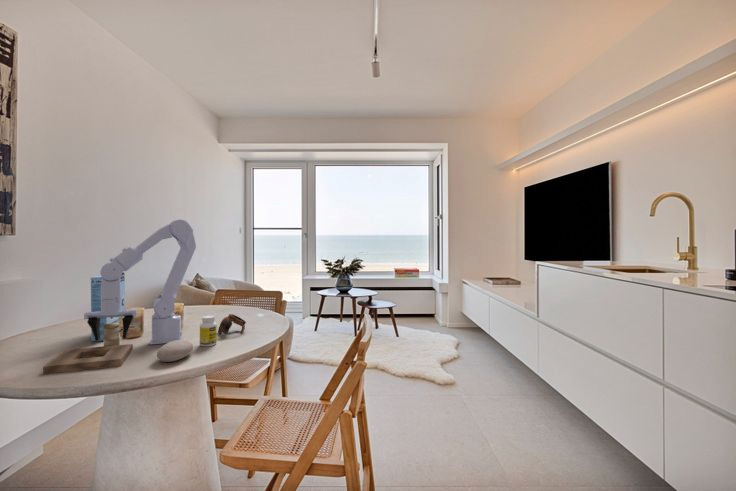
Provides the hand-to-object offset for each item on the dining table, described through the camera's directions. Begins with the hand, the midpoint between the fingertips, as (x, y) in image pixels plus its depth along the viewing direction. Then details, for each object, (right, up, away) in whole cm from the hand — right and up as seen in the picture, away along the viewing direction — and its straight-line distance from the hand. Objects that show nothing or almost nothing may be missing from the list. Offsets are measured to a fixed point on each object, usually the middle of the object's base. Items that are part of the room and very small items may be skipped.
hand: (111, 338), depth 123 cm
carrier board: (+3, -3, -13) cm, 13 cm away
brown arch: (+32, -3, +20) cm, 38 cm away
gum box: (-12, -3, +17) cm, 21 cm away
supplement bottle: (+30, -4, +5) cm, 31 cm away
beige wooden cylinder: (0, -3, 0) cm, 3 cm away
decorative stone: (+27, -4, -10) cm, 29 cm away
